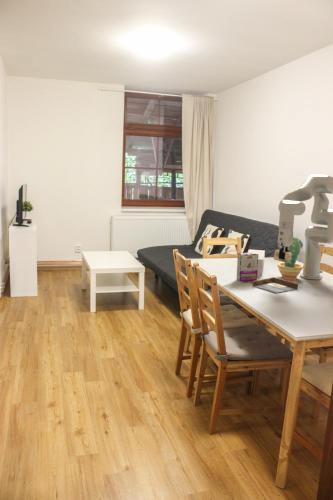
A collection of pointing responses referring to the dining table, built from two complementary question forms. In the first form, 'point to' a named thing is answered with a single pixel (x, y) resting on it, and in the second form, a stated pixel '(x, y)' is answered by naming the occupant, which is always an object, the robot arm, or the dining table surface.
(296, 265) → the potted cactus
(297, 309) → the dining table surface
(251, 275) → the candy bar box
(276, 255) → the maple block
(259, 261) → the stack of papers
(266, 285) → the corner arena
